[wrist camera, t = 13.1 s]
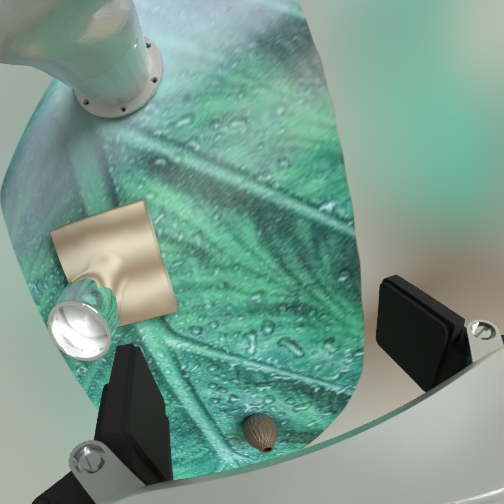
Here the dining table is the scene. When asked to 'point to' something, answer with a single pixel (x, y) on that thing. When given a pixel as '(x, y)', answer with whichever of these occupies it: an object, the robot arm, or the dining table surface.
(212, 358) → the dining table surface
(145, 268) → the plate
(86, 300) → the beer glass
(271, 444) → the vase
